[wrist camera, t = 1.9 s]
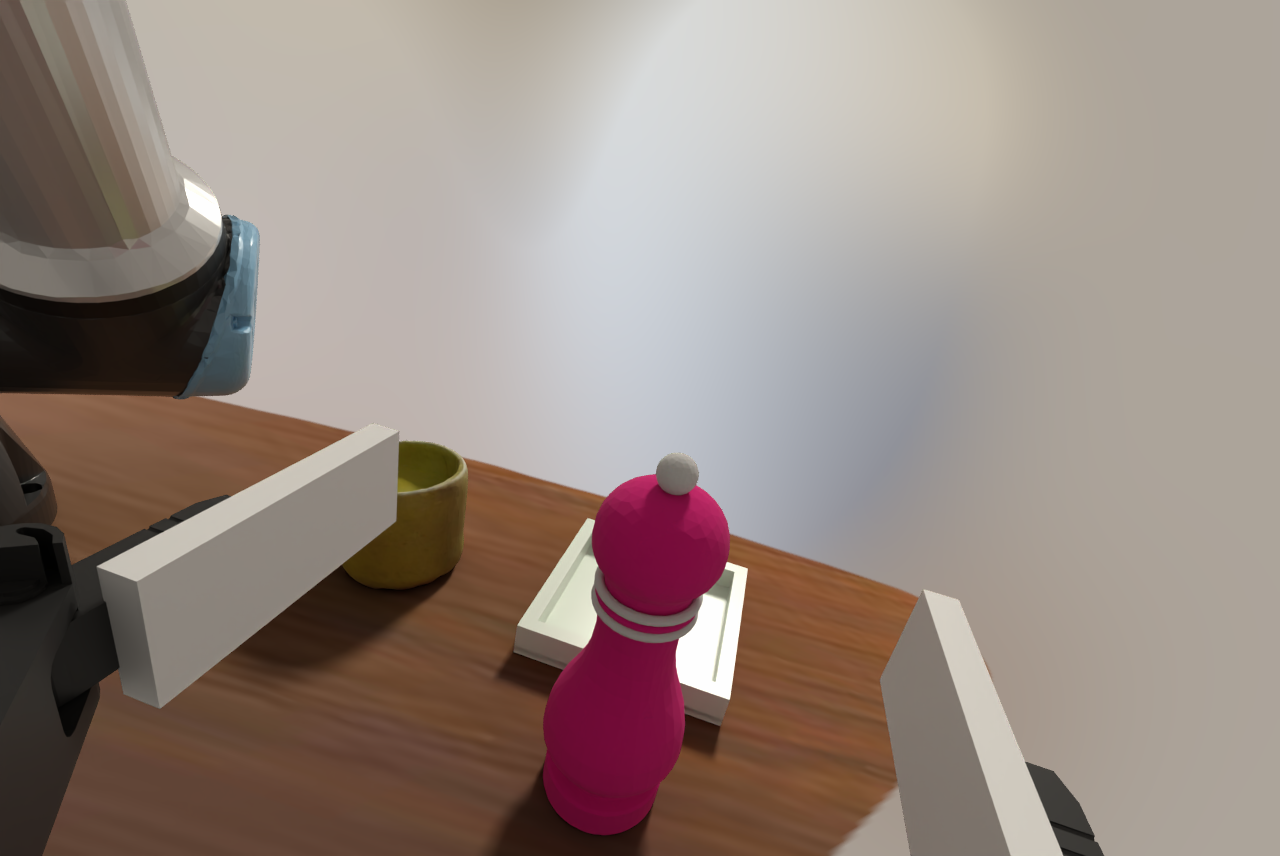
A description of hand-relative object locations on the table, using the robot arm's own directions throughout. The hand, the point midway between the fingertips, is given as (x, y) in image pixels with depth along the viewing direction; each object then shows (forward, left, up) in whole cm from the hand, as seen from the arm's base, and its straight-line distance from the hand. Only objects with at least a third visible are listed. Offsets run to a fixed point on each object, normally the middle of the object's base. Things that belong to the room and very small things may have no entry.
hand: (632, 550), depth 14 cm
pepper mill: (0, +10, -22) cm, 24 cm away
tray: (-1, +23, -22) cm, 32 cm away
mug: (-21, +22, -22) cm, 38 cm away
